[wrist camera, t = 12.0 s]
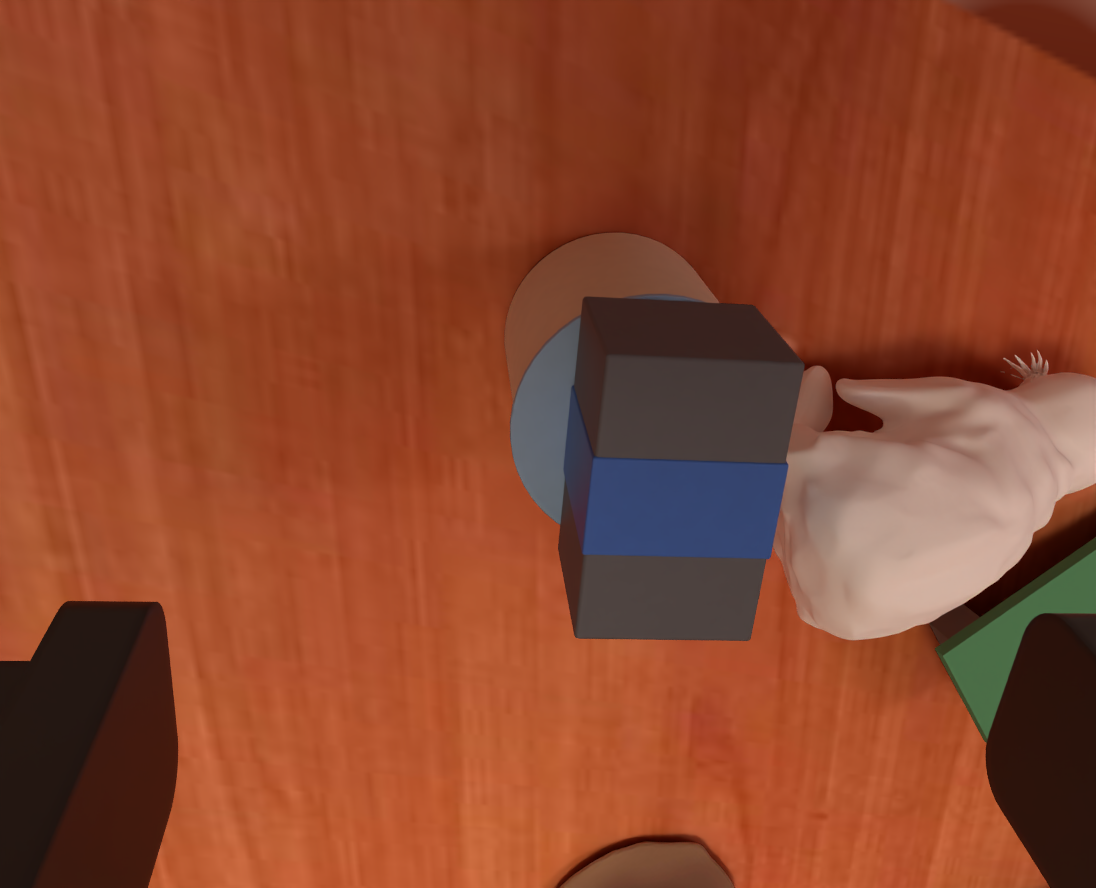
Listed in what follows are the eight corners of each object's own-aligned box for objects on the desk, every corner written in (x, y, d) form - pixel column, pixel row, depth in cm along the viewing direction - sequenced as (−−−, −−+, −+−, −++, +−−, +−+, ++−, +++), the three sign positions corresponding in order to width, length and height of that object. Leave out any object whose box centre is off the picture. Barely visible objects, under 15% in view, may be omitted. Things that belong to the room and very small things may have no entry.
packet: (579, 294, 25) (603, 355, 21) (756, 303, 25) (810, 364, 21) (555, 548, 28) (572, 641, 24) (713, 552, 28) (754, 643, 24)
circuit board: (1196, 534, 40) (1161, 435, 38) (1266, 570, 37) (1233, 466, 35) (948, 706, 40) (899, 617, 38) (999, 755, 37) (950, 662, 35)
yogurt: (505, 218, 31) (520, 288, 24) (735, 232, 31) (807, 303, 25) (491, 432, 34) (501, 544, 27) (702, 440, 34) (759, 551, 28)
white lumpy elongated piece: (818, 506, 25) (1265, 385, 26) (707, 382, 33) (1056, 292, 34) (836, 705, 28) (1240, 589, 29) (730, 548, 36) (1052, 460, 37)
